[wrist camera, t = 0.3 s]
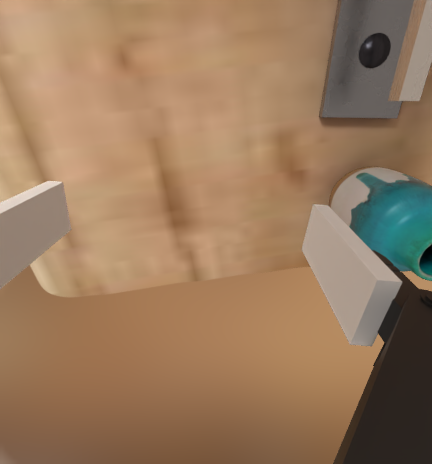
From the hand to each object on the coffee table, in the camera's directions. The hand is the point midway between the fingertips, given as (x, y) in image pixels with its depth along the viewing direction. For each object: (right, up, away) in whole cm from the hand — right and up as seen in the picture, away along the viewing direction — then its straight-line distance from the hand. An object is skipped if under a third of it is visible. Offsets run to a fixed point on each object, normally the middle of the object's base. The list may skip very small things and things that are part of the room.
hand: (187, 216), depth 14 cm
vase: (+23, +5, +28) cm, 36 cm away
